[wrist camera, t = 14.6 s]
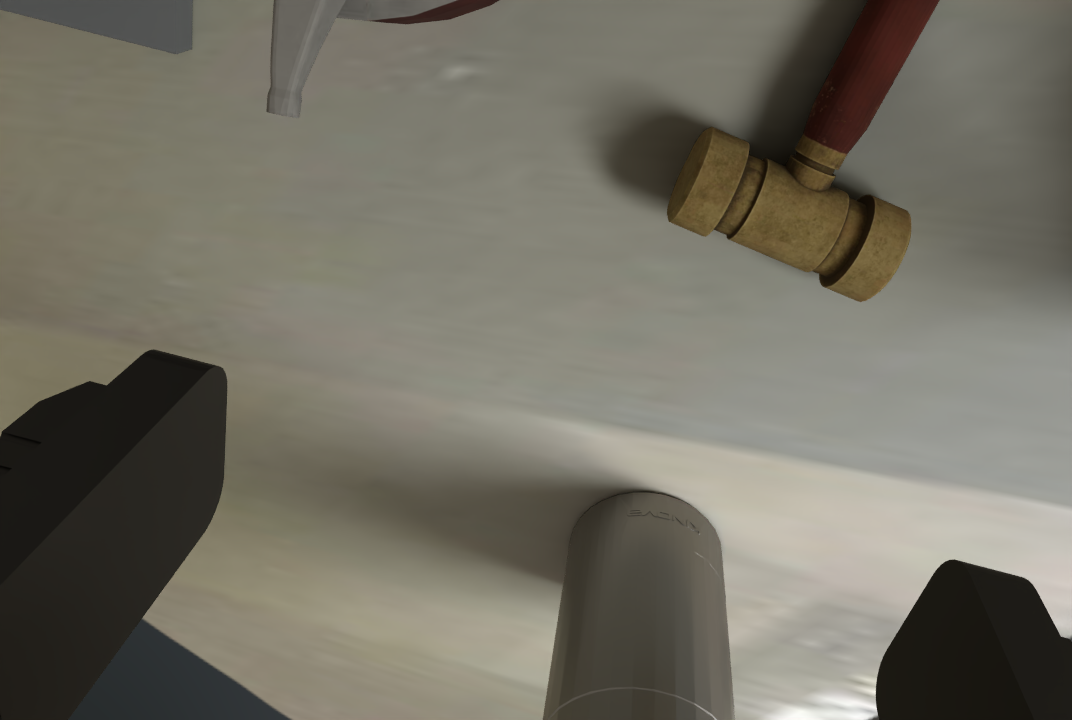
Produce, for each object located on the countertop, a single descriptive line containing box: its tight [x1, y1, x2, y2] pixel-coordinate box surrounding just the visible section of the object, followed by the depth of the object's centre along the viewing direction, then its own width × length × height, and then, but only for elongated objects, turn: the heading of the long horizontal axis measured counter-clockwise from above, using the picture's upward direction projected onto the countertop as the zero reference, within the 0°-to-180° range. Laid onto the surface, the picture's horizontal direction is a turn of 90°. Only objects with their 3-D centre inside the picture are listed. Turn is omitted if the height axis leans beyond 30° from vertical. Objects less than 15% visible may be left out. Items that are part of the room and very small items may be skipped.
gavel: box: [667, 0, 939, 302], centre depth 36 cm, size 21×5×10 cm
